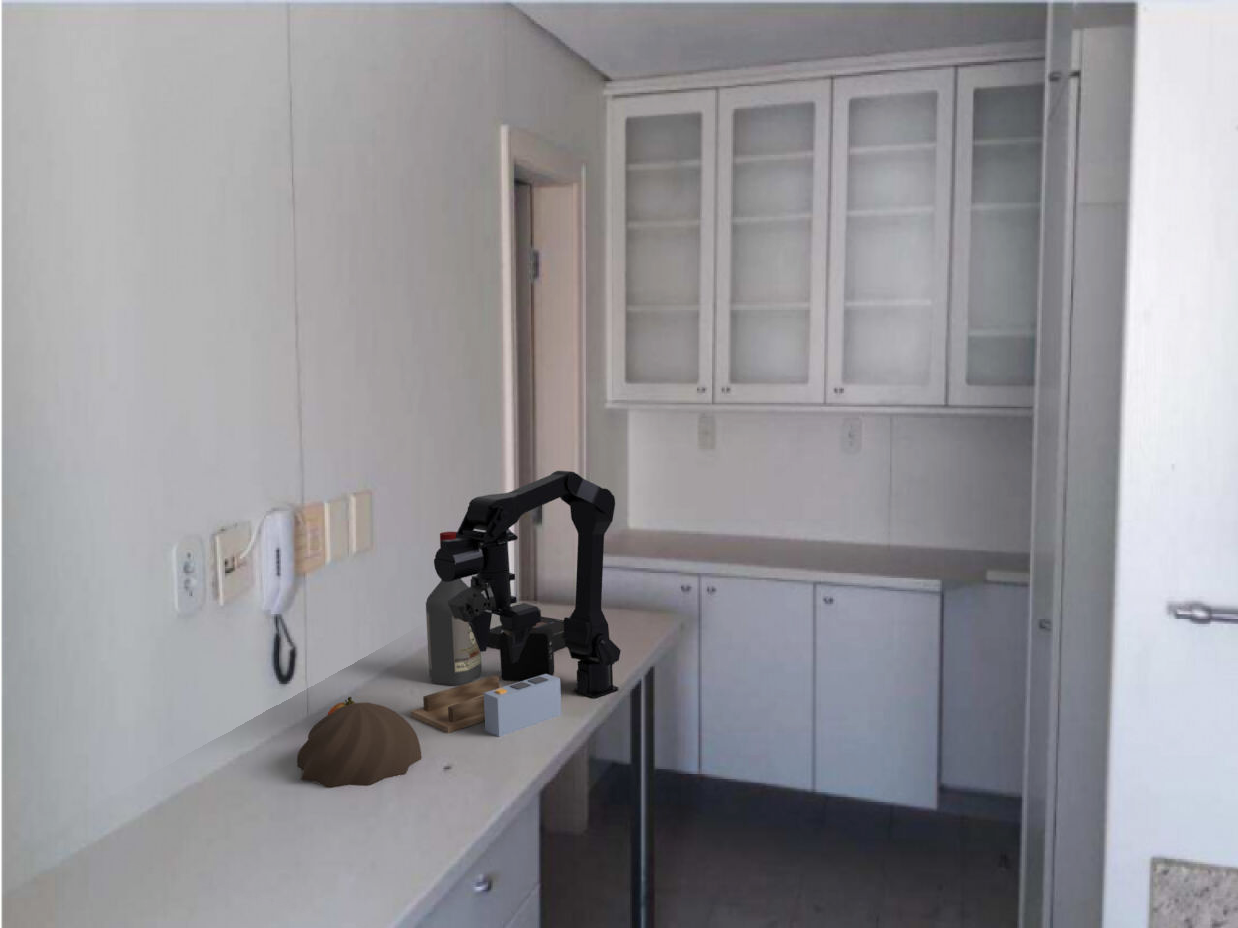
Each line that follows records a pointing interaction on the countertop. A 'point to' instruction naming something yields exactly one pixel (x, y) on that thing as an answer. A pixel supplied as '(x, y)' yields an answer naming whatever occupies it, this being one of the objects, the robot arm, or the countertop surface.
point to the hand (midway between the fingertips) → (498, 656)
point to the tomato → (341, 705)
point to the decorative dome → (358, 747)
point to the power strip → (522, 704)
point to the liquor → (450, 636)
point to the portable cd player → (546, 622)
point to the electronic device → (529, 656)
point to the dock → (456, 705)
